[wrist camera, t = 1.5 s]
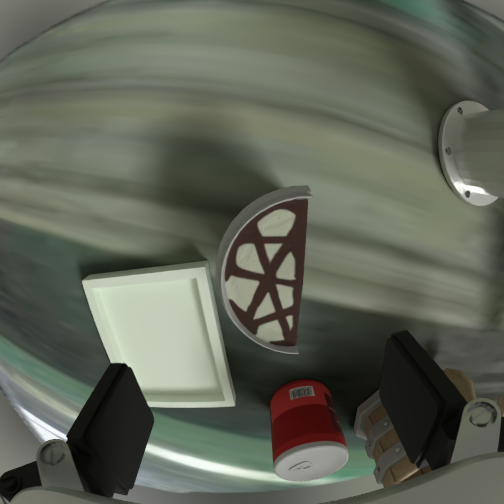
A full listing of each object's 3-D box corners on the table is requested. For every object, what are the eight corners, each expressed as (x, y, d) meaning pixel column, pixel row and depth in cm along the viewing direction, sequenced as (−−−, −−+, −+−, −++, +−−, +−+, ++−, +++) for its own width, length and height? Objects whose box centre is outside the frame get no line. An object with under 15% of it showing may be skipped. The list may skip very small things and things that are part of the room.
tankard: (383, 441, 38) (409, 508, 23) (337, 421, 36) (361, 505, 21) (472, 360, 33) (523, 416, 19) (442, 323, 31) (508, 390, 17)
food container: (225, 179, 27) (211, 184, 17) (291, 181, 27) (313, 187, 17) (225, 301, 30) (214, 358, 20) (285, 302, 30) (298, 359, 21)
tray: (208, 260, 29) (204, 266, 27) (235, 395, 34) (235, 406, 32) (90, 274, 29) (81, 280, 27) (135, 396, 34) (131, 405, 32)
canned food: (256, 403, 34) (258, 471, 24) (301, 367, 33) (316, 436, 22) (298, 424, 36) (307, 487, 25) (341, 392, 34) (363, 455, 23)
